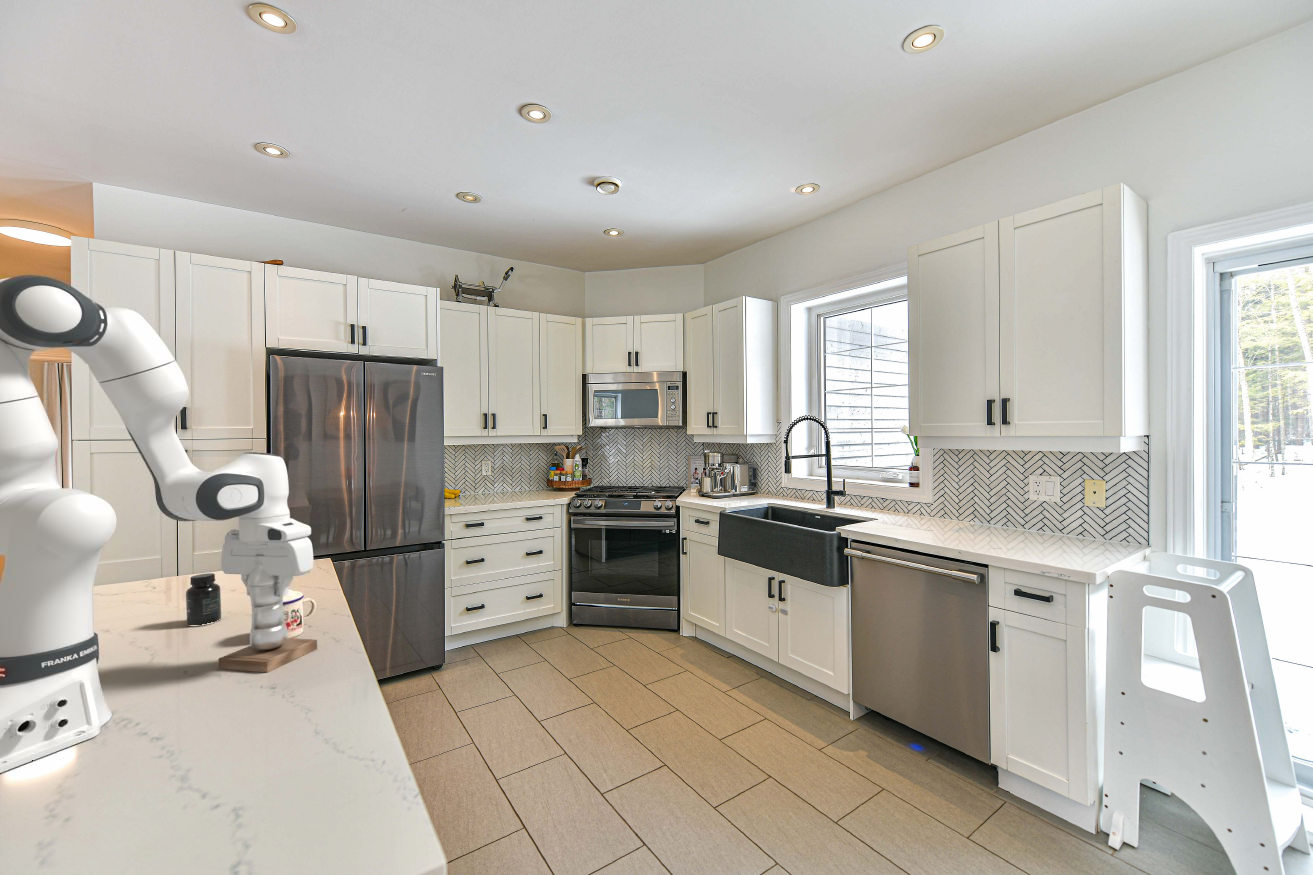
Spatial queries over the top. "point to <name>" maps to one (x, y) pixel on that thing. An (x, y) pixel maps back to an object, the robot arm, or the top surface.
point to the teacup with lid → (295, 612)
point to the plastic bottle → (265, 609)
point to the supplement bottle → (203, 600)
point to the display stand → (267, 656)
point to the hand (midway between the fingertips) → (268, 595)
